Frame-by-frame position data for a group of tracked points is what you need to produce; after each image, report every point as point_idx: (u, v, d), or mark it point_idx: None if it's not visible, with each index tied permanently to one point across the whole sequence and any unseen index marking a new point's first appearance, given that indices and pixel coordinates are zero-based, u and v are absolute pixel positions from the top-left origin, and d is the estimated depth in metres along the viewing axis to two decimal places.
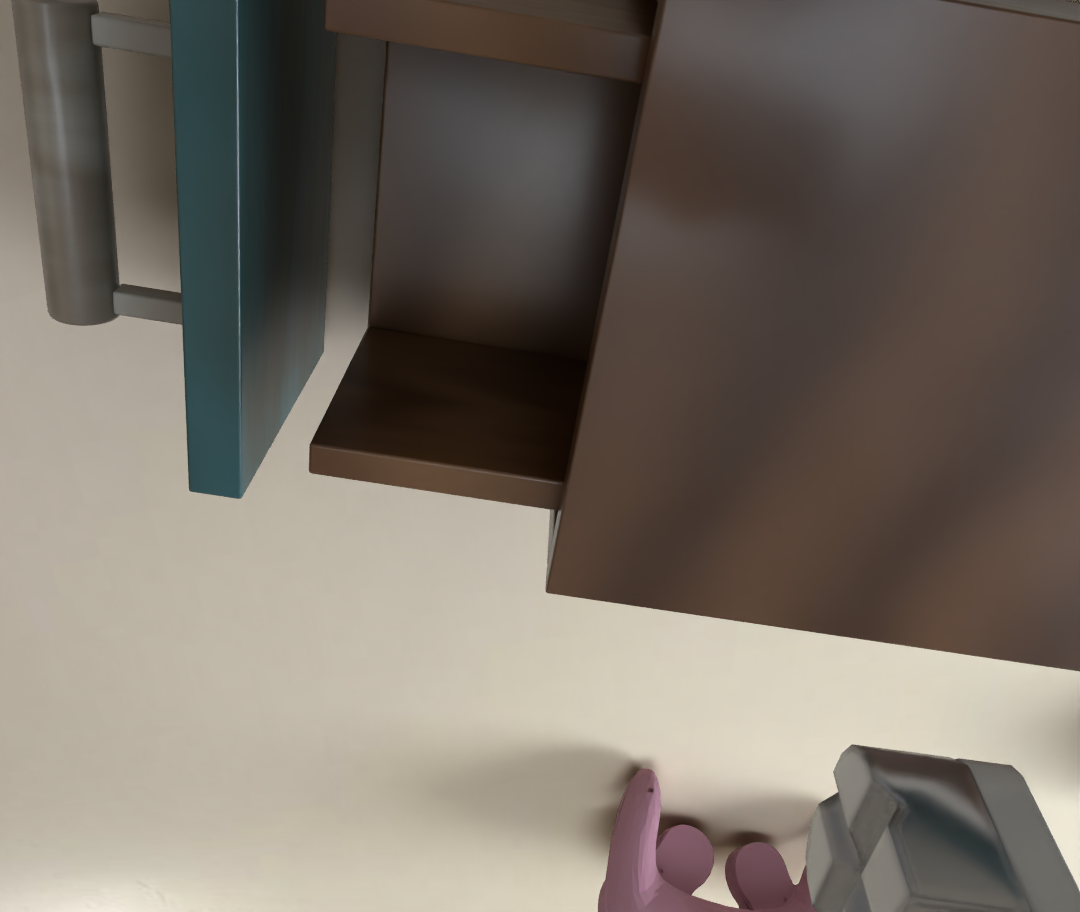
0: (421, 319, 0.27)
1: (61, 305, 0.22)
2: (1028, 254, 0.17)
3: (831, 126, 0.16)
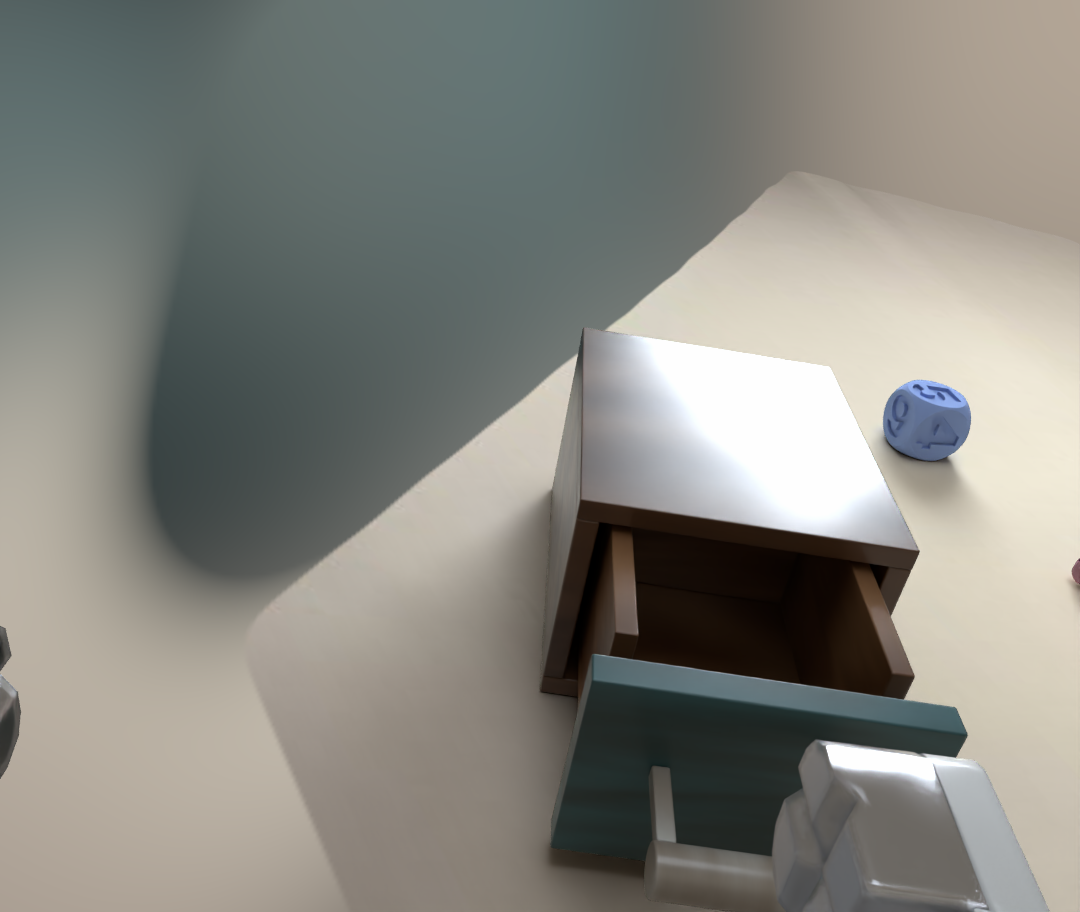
0: None
1: None
2: (666, 419, 0.42)
3: (634, 463, 0.38)
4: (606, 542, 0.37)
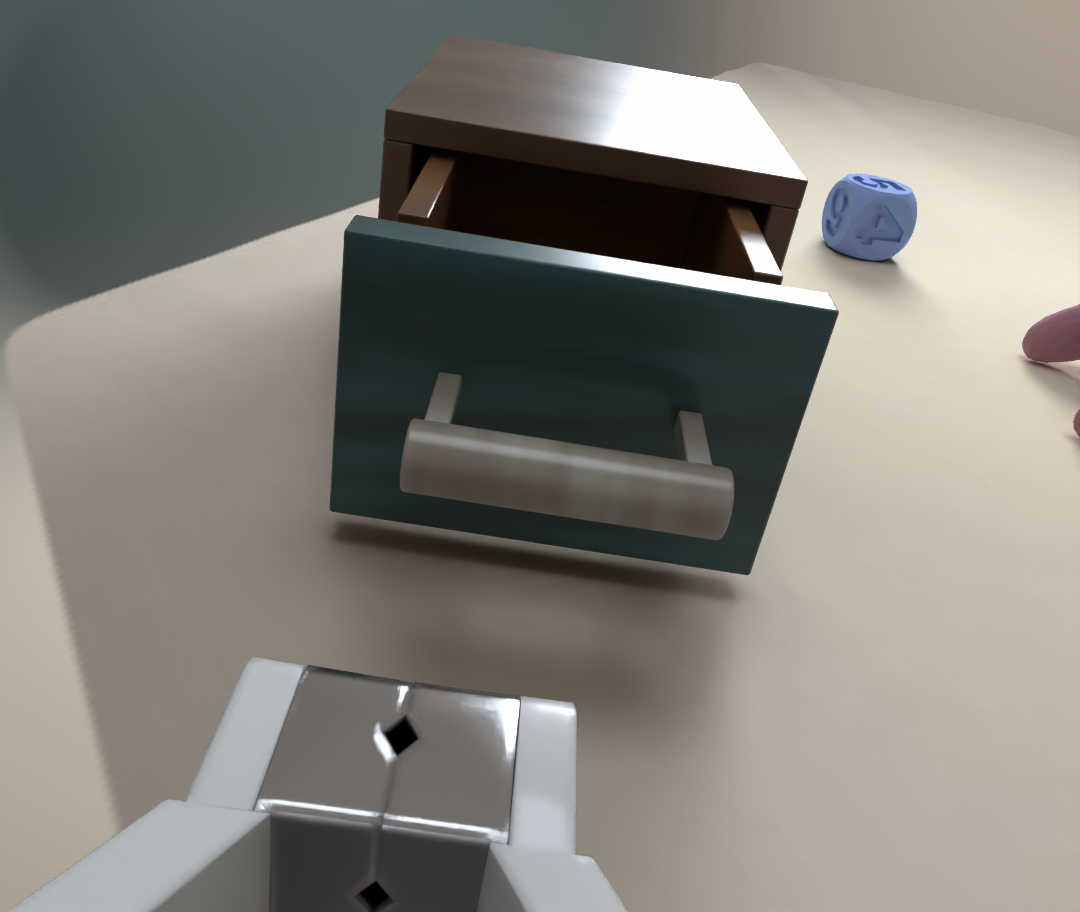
0: None
1: (713, 476, 0.21)
2: (523, 84, 0.35)
3: (469, 99, 0.31)
4: None
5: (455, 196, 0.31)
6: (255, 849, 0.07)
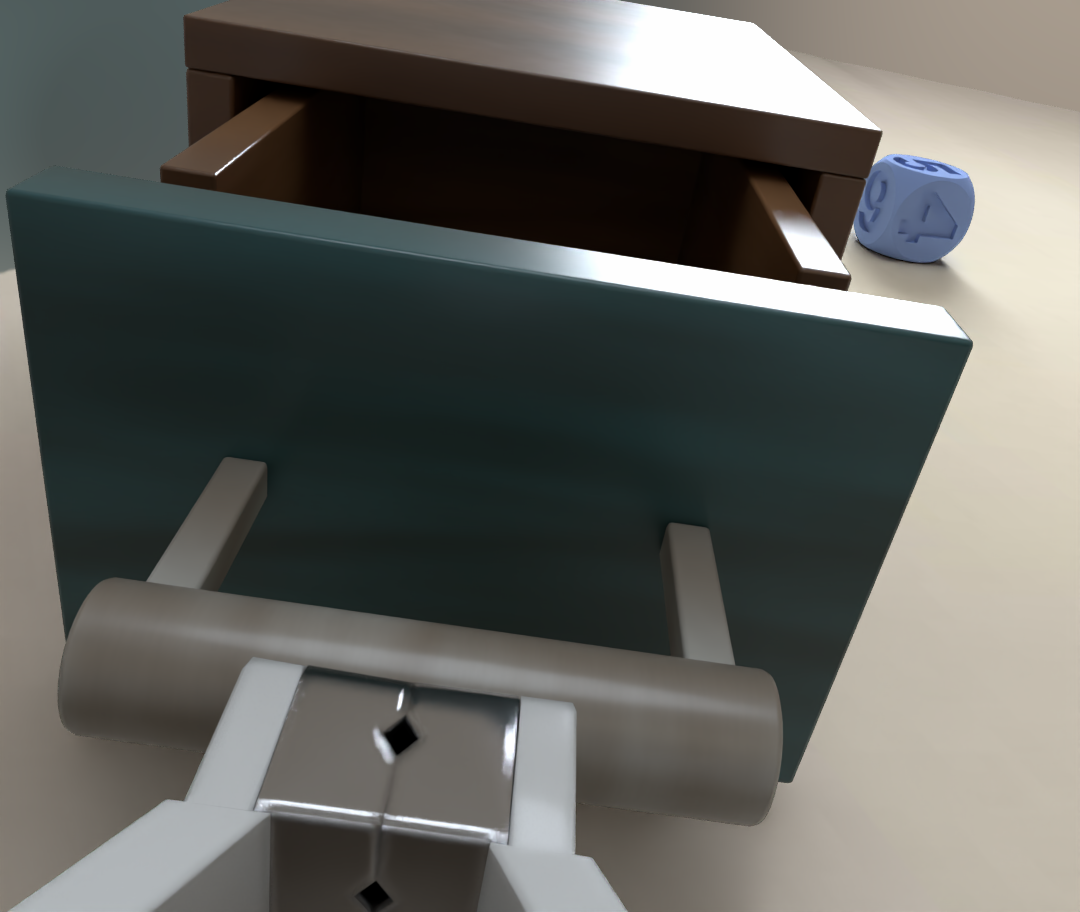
0: None
1: (737, 700, 0.10)
2: (441, 5, 0.24)
3: (341, 13, 0.20)
4: None
5: (328, 158, 0.21)
6: (255, 848, 0.07)
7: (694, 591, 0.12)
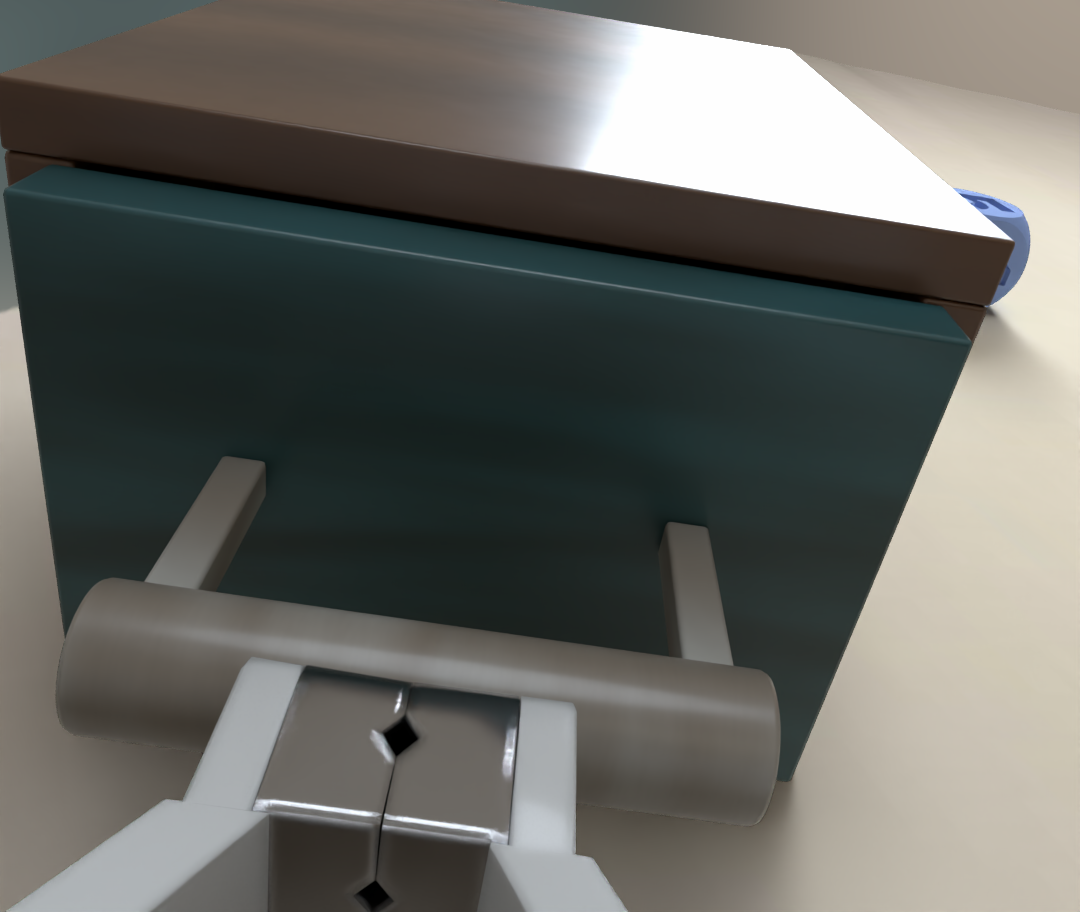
0: None
1: (735, 701, 0.10)
2: (397, 39, 0.18)
3: (247, 61, 0.14)
4: None
5: None
6: (253, 849, 0.07)
7: (692, 591, 0.12)
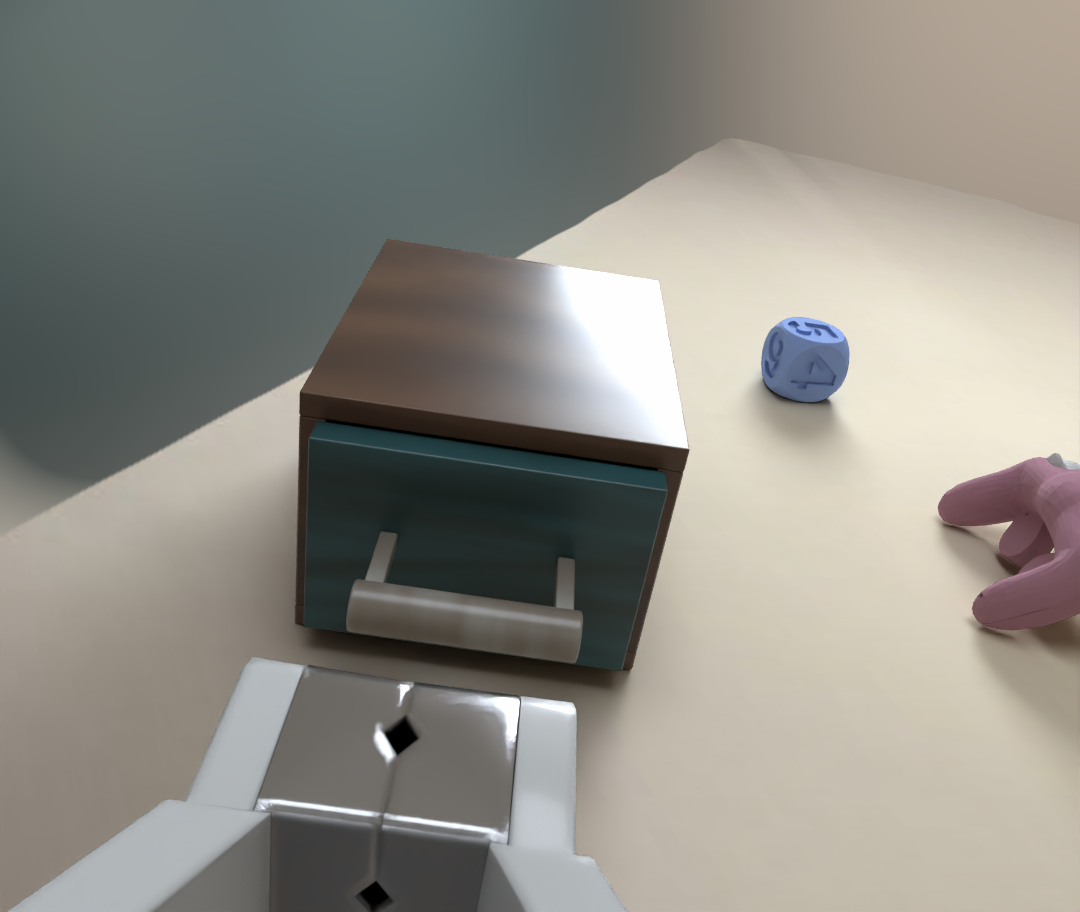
0: None
1: (567, 619, 0.29)
2: (442, 321, 0.38)
3: (383, 360, 0.34)
4: None
5: None
6: (255, 849, 0.07)
7: (563, 584, 0.31)
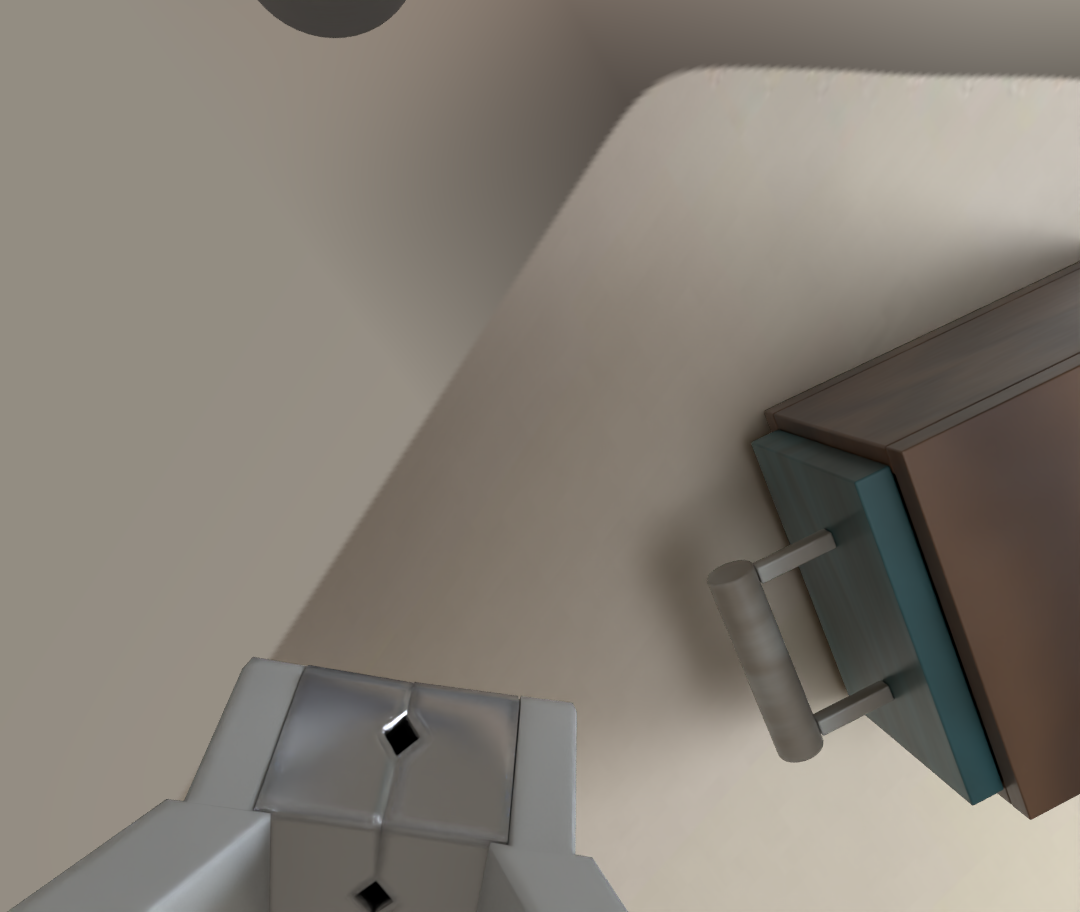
0: None
1: (801, 749, 0.32)
2: None
3: (1020, 472, 0.28)
4: None
5: None
6: (255, 849, 0.07)
7: (853, 710, 0.33)
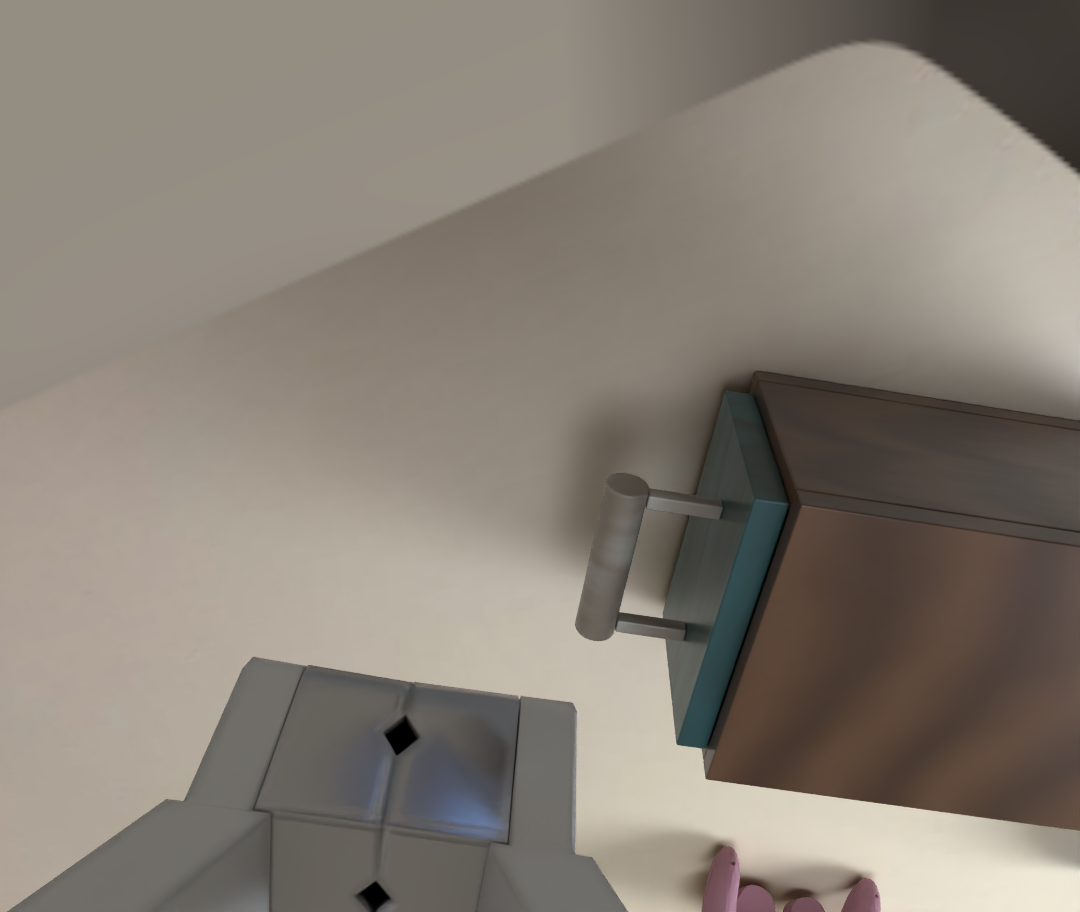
0: None
1: (592, 631, 0.38)
2: (979, 626, 0.33)
3: (877, 572, 0.32)
4: None
5: None
6: (255, 849, 0.07)
7: (648, 629, 0.39)
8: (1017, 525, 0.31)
